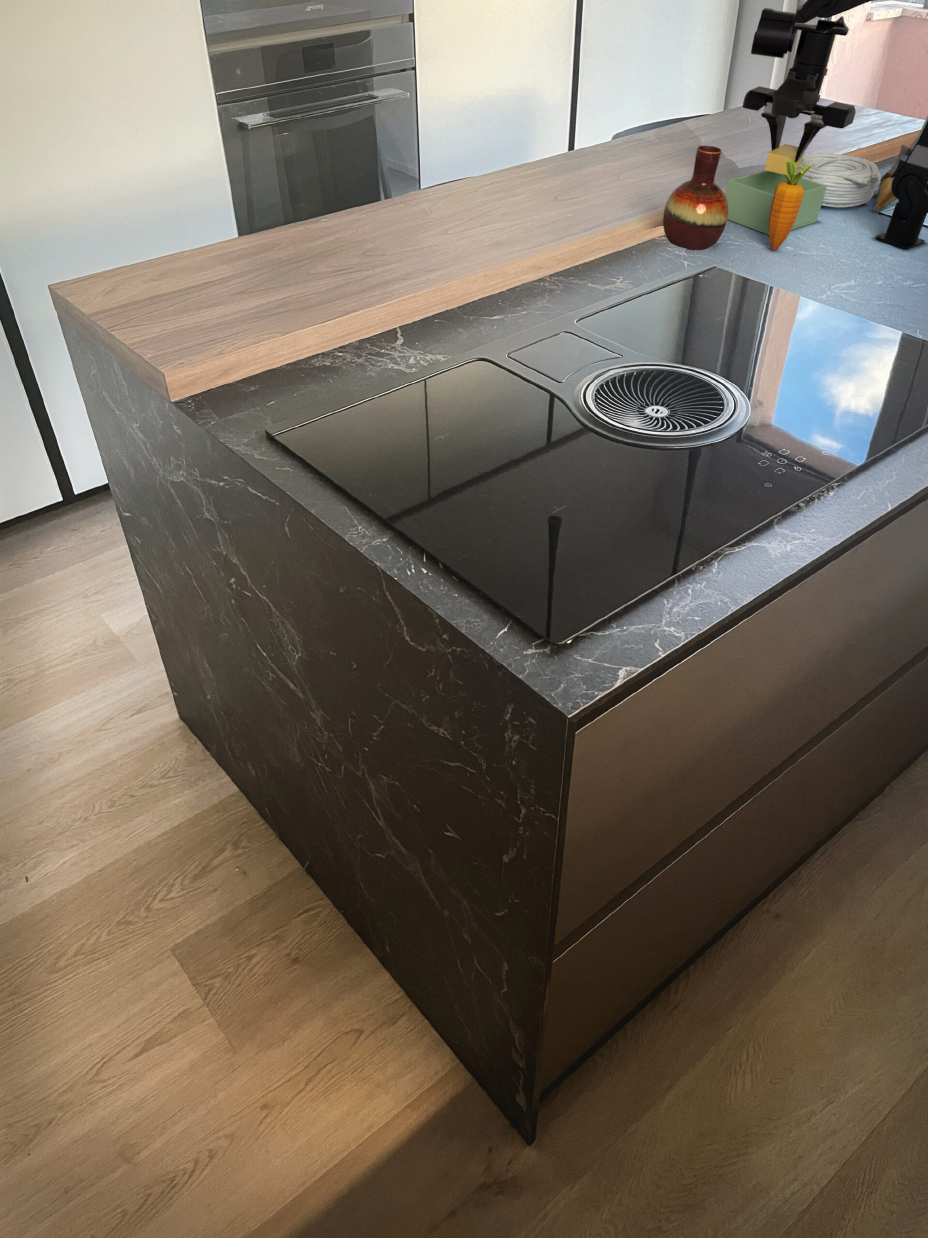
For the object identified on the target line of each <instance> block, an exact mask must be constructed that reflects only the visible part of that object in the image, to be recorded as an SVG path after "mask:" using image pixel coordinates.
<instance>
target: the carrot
mask: <svg viewBox="0 0 928 1238" xmlns="http://www.w3.org/2000/svg"><path fill="white" fill-rule="evenodd" d="M786 164H787V171H788V173H785V174H784V176H785V177H786V179H787V181H785V182H781V183H779V184H778V185H777V186H776V189H775V192H774V197H773V201H772V206H771V211H770V219H769V235H768V238H769V244H770V249H771V251H773V252H775V251H777V250H778V249H779V248H780V247H781V245H782V244H783V243H784V242H785V241H786V239H787V237H788V236H789V235H790V232H791V231H792V230H791V228H792V226H793V224H794V222H795V220H796V217H797V214H798V211H799V208H800V205H801V202H802V199H803V196H804V189H803V187H802V185H801V184H799V183H797V182H798V181H799V180H800V179H801V177H802V176H803V175H804V174H805V173H806V172H807V171H808V170H809V169H810V168H811V166H810V165H808V164H807V165H806V166H805V167H804V168H803V169H802V170H801V171H800V172H799V173H798V174H797V165H796V163H795V162H794V163H792V160H788V161H787V163H786Z"/></svg>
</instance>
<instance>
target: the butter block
mask: <svg viewBox="0 0 928 1238" xmlns="http://www.w3.org/2000/svg"><path fill="white" fill-rule="evenodd" d="M798 147H799V146H796V145H792V144H787V143H784V144H782V145H780V146H779V147H778V148H776V149H774V150H772V149H771V151H768V154H767V157H766V161H765V164H764V165H765V166H764V169H763V171H770V172H774V173H779V174H783V175H784V174H785V173H788V171H787V164H786V163H787V161H788V160H792V163H794V162H795V157H796V153H797V150H798ZM803 156H805V152H804V153H803V155H802V156H801V158H800V159H799V161H798V162H795V163H796V165H797V168H798V167H799V166H801V163H802V159H803Z"/></svg>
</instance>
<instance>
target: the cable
mask: <svg viewBox="0 0 928 1238" xmlns="http://www.w3.org/2000/svg"><path fill="white" fill-rule="evenodd" d="M807 164H808V165H810V166H811V168H810V169H809V170H808V171H807V172H806V173H805V174H804V175H803V176H802V177H801V178H804V179H807V180H810V181H813V182H816V183H819V184H822V185H825V186H827V188H826V191H825V194H824V198H823V201H822V205H821V207H822V206H823V207H830V208H852V207H857V206H862V205H861V204H864V203H865V204H866V203H868V202H869V201H871V200H872V198H873V197H874V195H873V194H874V191H875V189H876V190H877V187H878V186H879V184H880V181H881V172H880V170H879V167H878V165H876V164H875V162H873V161H871V160H868V159H865V158H862V157H859V156H854V155H844V154H839V153H811V154H805V155H804V156H803V159H802V163H801V166H799V167H798V168H797V174H798V173H799V172H800V171H801V170H802V169H803V168H804V167H805V166H806V165H807Z"/></svg>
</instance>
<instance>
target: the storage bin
mask: <svg viewBox="0 0 928 1238" xmlns="http://www.w3.org/2000/svg"><path fill="white" fill-rule="evenodd" d="M785 181H787V179H786V177H785V176H784V175H783V174H779V173H774V172H770V171H766V170H762V171H758V172H754V173H750V174H746V175H742V176H738V177H734V178H730V179H729V178H728V179H727V181H726V186H725V190H724V194H725V196H726V199H727V202H728V219H727V221H730V222H734V223H736V224H739V225H741V226H744V227H746V228H749V229H752V230H755V231H757V232H760V233H762V234H765V235H768V236H769V219H770V211H771V206H772V201H773V197H774V192H775V189H776V186H777V185H778V184H779V183H781V182H785ZM797 183H799V184H801V185H802V187H803V189H804V196H803V199H802V202H801V205H800V208H799V211H798V214H797V217H796V220H795V222H794V224H793V226H792V228H791V230H790V231H792V230H795V229H798V228H802V227H805V226H809V225H811V224H815V223H817V221H818V218H819V215H820V211H821V208H822V201H823V198H824V194H825V191H826V188H827V186H825V185H822V184H819V183H816V182H813V181H810V180H807V179H804V178H801V179H800V180H799V181H798V182H797Z"/></svg>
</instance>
